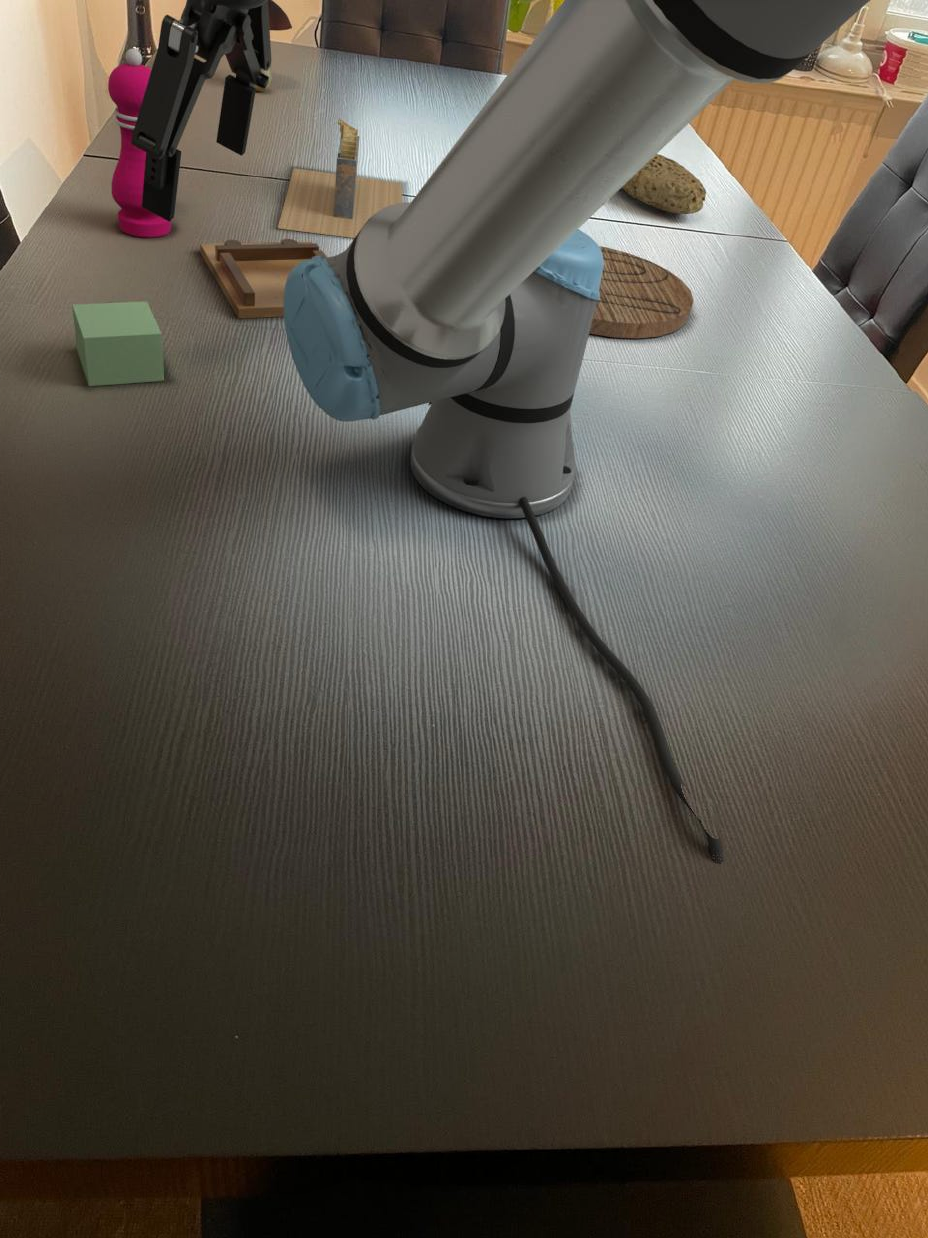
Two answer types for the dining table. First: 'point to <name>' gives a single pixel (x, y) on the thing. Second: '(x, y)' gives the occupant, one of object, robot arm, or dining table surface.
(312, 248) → the wooden tray
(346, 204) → the architectural model on board
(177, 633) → the dining table surface
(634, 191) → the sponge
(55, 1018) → the dining table surface
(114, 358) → the green block
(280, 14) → the decorative mushroom
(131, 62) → the pepper mill
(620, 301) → the trivet
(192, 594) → the dining table surface
